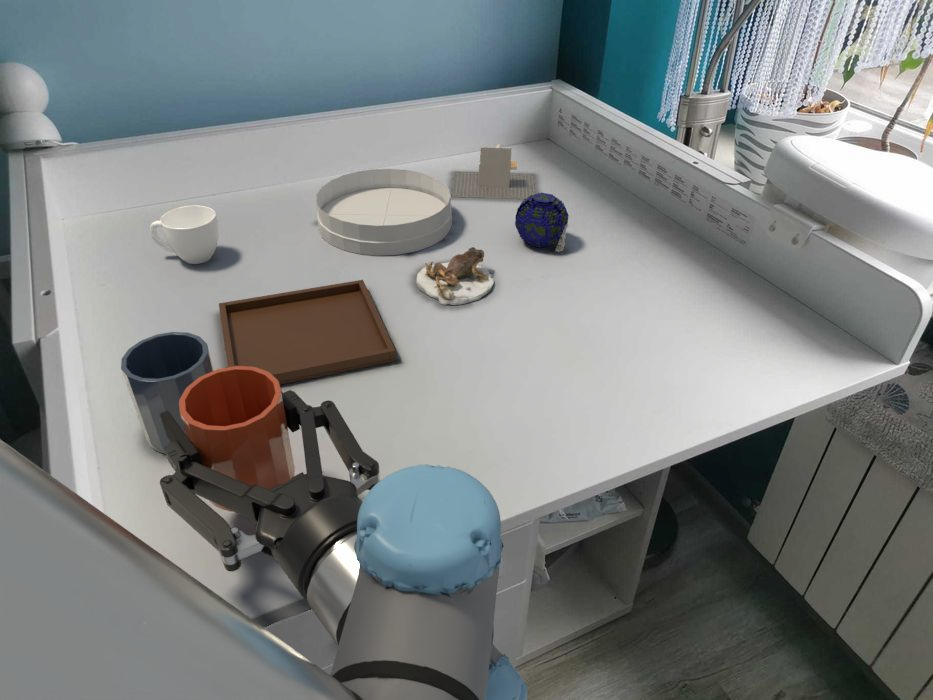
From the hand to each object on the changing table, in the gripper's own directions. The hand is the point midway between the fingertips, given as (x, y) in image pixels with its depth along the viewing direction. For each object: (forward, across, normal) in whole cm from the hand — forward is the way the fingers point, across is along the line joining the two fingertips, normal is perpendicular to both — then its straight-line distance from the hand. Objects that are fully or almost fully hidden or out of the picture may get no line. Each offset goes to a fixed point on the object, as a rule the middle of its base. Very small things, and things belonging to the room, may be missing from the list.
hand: (215, 402), depth 64 cm
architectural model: (+38, +69, -10) cm, 80 cm away
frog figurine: (+16, +42, -10) cm, 46 cm away
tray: (+18, +18, -10) cm, 27 cm away
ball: (+17, +60, -10) cm, 63 cm away
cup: (+46, +14, -11) cm, 50 cm away
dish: (+38, +44, -11) cm, 59 cm away
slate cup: (+10, -1, -10) cm, 15 cm away
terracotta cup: (-5, 0, -6) cm, 8 cm away
